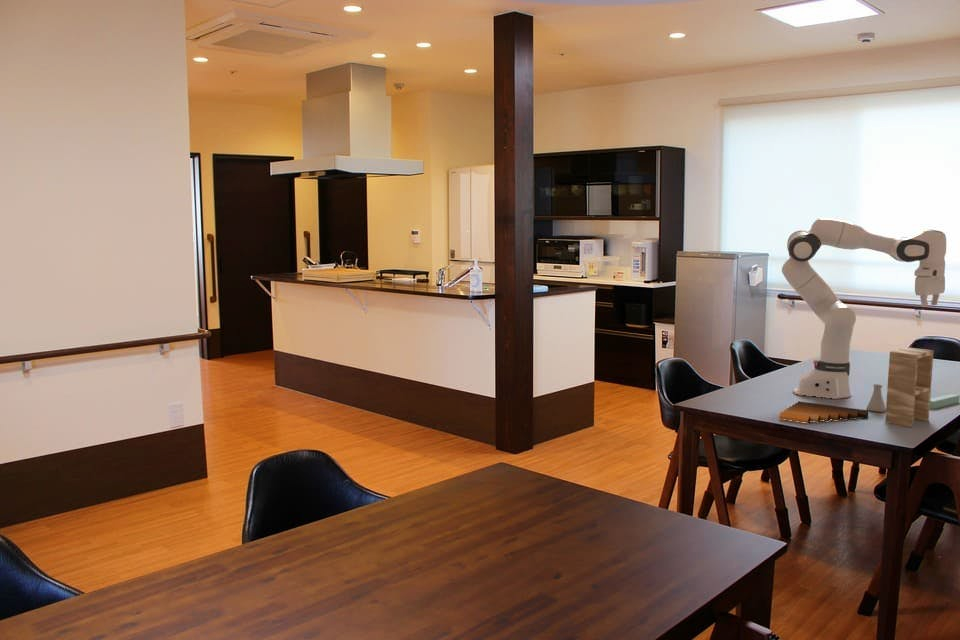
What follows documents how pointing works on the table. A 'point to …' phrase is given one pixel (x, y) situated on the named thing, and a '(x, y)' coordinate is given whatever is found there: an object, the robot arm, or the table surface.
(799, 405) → the pan flute
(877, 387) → the flask
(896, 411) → the rack
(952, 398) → the mint green bar
